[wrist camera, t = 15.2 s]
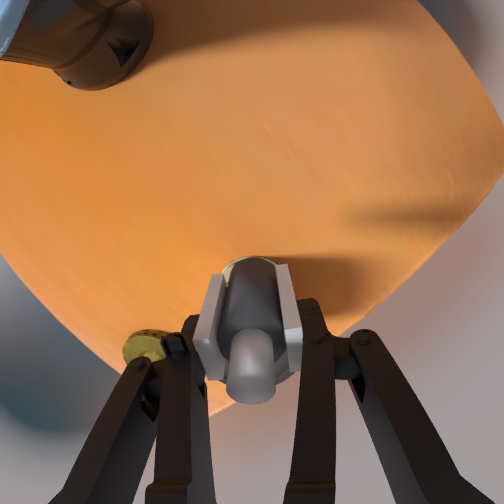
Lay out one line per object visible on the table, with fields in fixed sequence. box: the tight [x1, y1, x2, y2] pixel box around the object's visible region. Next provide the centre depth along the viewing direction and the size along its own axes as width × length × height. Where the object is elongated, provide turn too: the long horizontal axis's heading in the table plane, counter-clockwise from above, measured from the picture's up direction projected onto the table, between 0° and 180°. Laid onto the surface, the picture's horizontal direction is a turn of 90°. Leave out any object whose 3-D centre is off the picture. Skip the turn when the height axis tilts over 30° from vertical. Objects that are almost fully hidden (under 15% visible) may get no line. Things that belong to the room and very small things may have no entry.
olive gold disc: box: [123, 329, 168, 365], centre depth 44 cm, size 12×12×2 cm
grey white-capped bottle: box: [217, 257, 287, 404], centre depth 15 cm, size 3×3×10 cm
